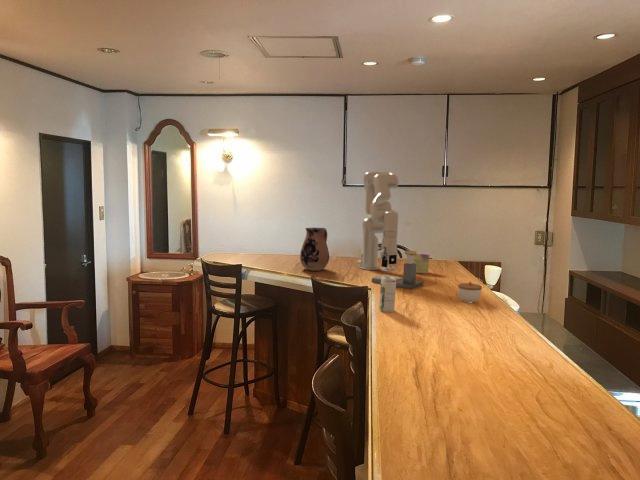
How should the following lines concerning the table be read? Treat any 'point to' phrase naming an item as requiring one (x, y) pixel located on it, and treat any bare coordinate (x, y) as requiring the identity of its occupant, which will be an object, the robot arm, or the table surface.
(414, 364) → the table surface
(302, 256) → the ceramic pitcher
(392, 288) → the syrup box
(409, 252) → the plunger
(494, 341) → the table surface
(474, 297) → the lidded jar
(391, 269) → the security camera
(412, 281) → the press base
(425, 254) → the box
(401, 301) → the table surface
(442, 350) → the table surface
